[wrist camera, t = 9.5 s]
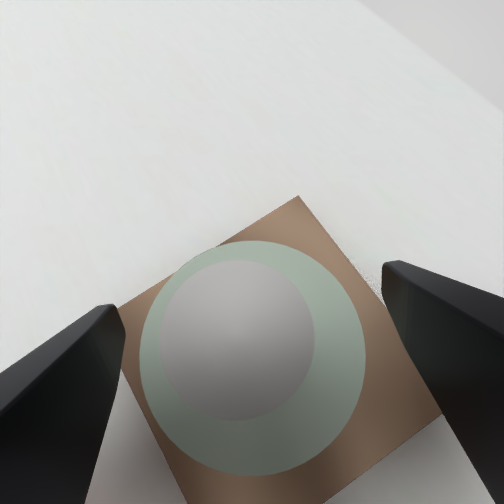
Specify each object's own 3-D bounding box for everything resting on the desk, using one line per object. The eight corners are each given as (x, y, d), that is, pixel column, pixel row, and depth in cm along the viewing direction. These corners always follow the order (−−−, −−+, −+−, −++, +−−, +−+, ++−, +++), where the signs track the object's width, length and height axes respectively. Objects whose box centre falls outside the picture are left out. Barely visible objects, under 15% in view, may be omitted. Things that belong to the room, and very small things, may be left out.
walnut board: (227, 564, 15) (224, 577, 14) (106, 323, 18) (97, 320, 17) (447, 399, 16) (458, 401, 15) (297, 203, 20) (298, 195, 19)
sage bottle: (252, 432, 15) (167, 639, 4) (201, 345, 17) (19, 288, 5) (333, 374, 16) (493, 390, 4) (278, 294, 17) (281, 132, 5)
